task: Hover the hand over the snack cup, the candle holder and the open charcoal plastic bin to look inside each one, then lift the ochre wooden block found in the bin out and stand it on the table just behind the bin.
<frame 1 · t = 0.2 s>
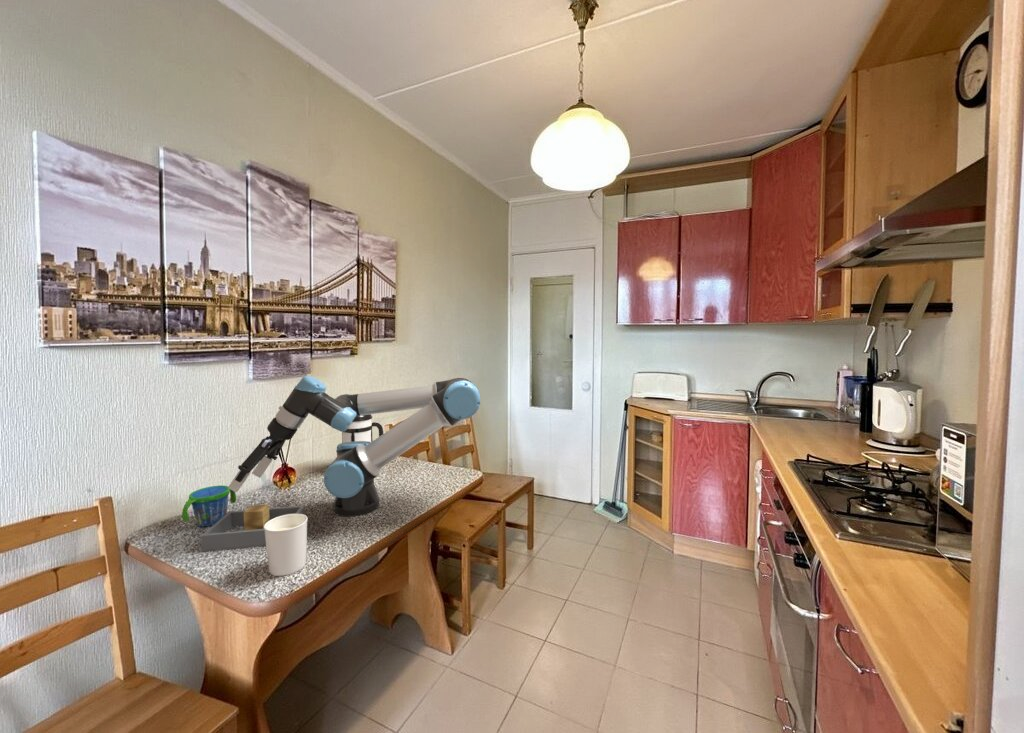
hand: (244, 482, 120), 16 cm above the table, tool tilted 35°, fingers open, 13 cm apart
candle holder: (288, 567, 103), on the table
charcoal bin: (257, 533, 121), on the table
snack cup: (211, 522, 129), on the table
coffee press: (360, 472, 177), on the table
ochre block: (257, 534, 121), resting in charcoal bin
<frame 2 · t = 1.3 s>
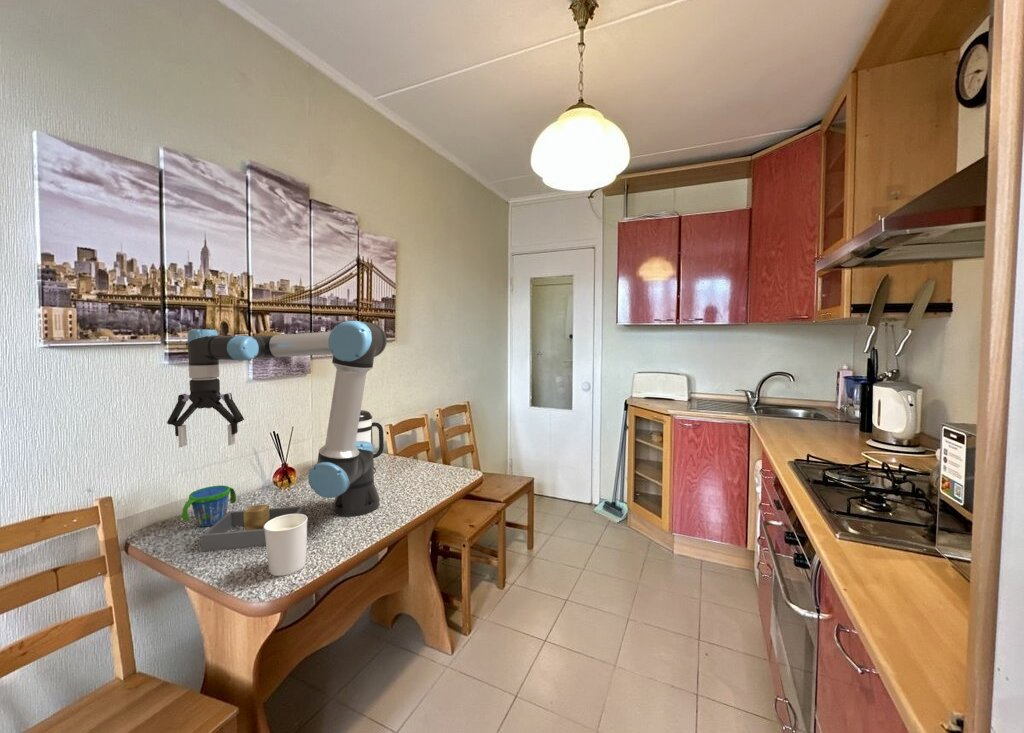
hand: (207, 445, 127), 25 cm above the table, tool pointing down, fingers open, 13 cm apart
nothing on the table moved.
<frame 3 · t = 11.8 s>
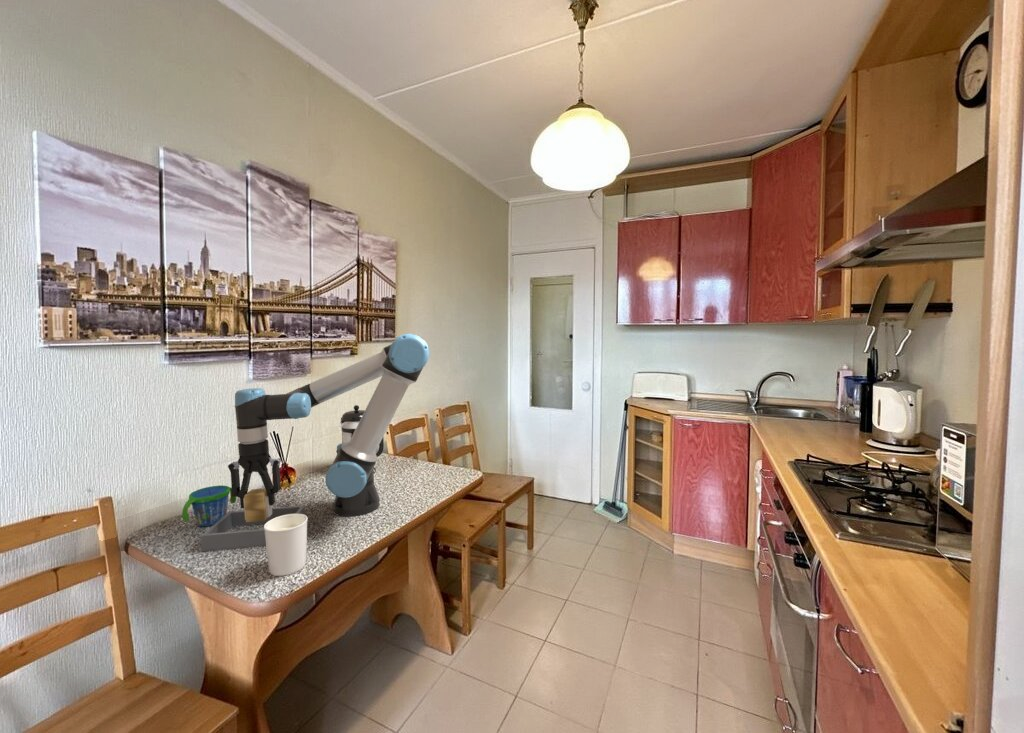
hand: (258, 516, 120), 5 cm above the table, tool pointing down, fingers closed on ochre block, 5 cm apart
ochre block: (259, 517, 120), point 5 cm above the table, touching gripper
everything else where it was.
when the fingers open (1 cm above the table, at t = 16.7 s): ochre block stays where it is, on the table.
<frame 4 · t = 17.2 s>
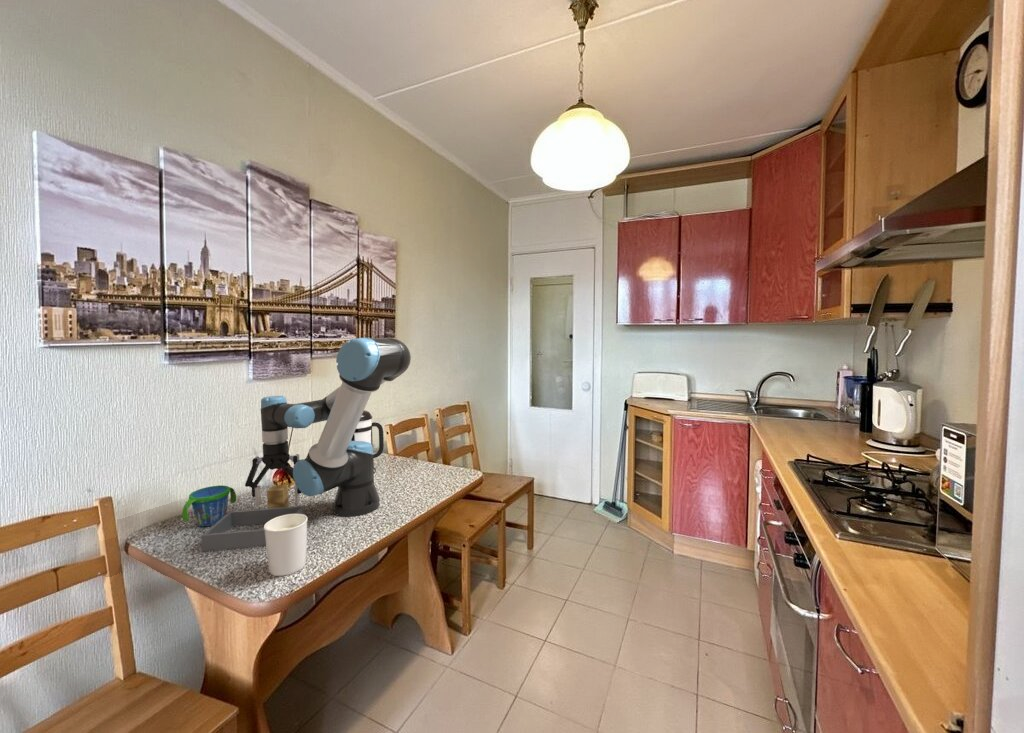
hand: (278, 504, 137), 2 cm above the table, tool pointing down, fingers open, 11 cm apart
ochre block: (278, 510, 137), on the table
everything else where it was.
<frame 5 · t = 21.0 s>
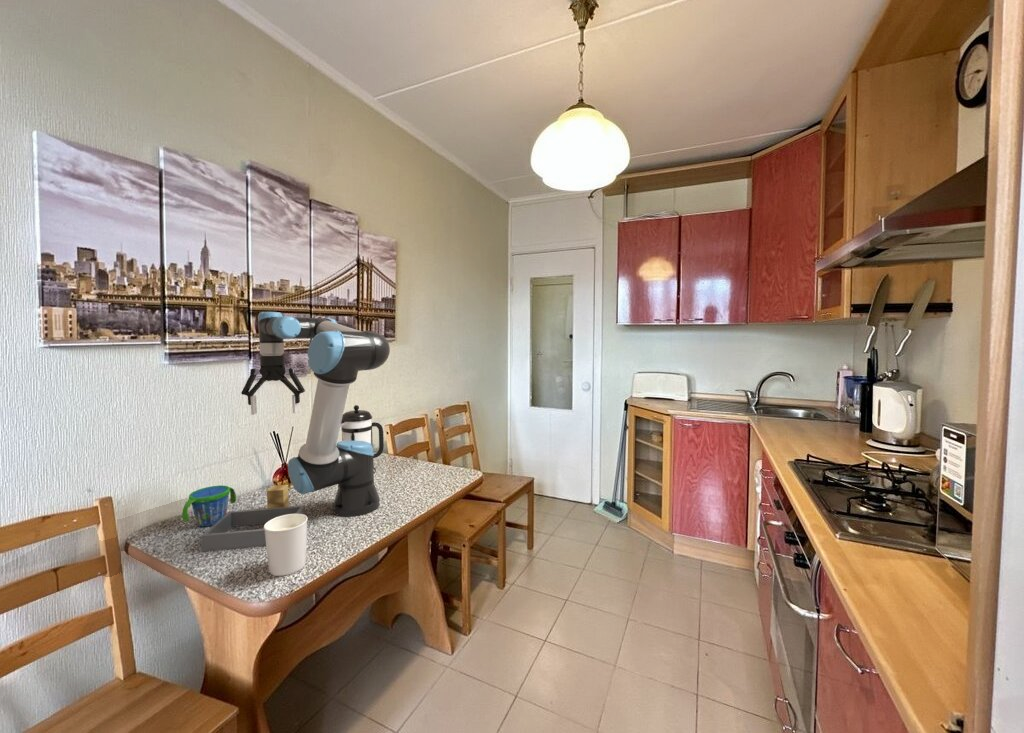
hand: (274, 413, 146), 32 cm above the table, tool pointing down, fingers open, 13 cm apart
nothing on the table moved.
at the end: ochre block inside the target area (0.0 cm from its centre), on the table; ochre block tilted 0°; the gripper is holding nothing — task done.
